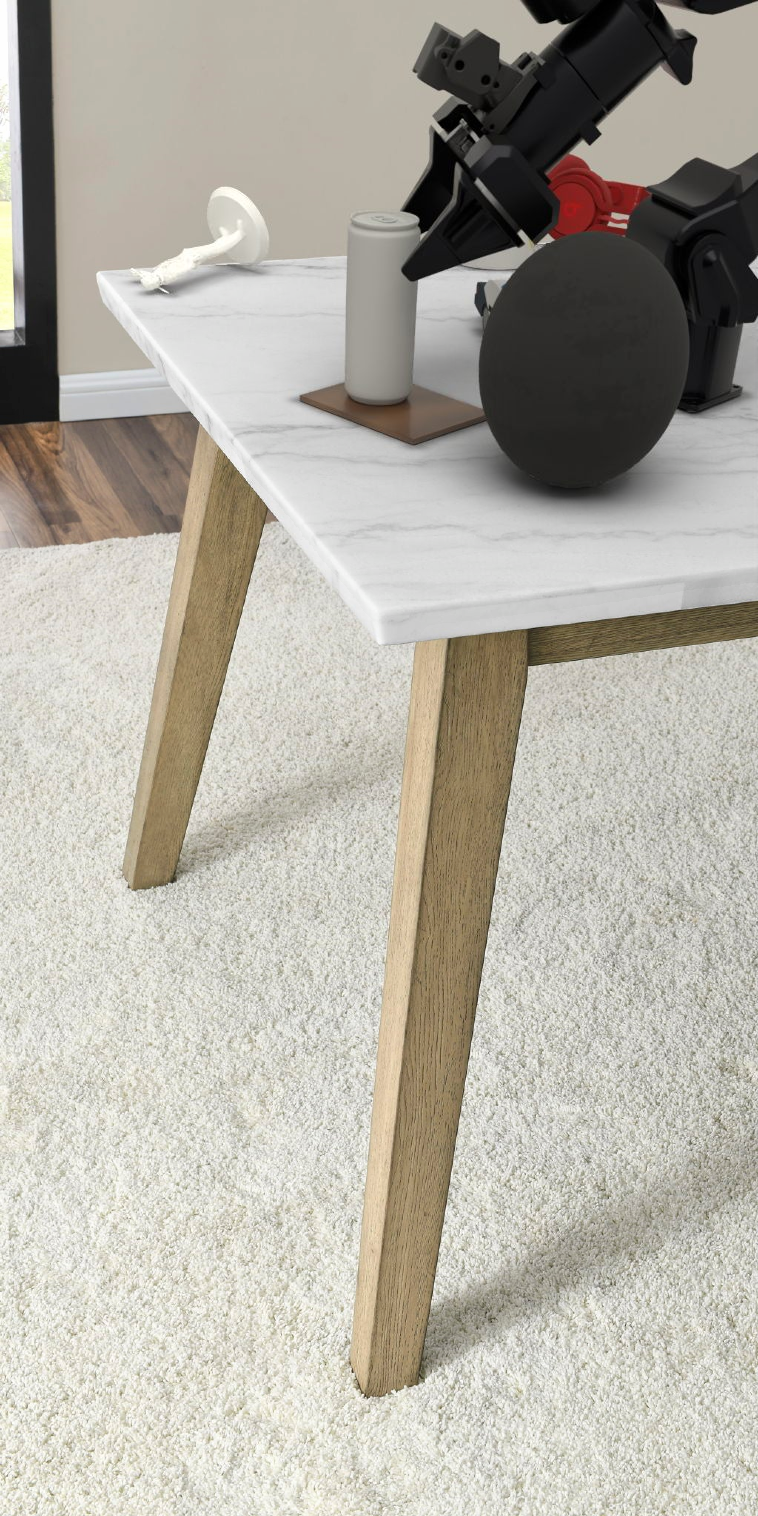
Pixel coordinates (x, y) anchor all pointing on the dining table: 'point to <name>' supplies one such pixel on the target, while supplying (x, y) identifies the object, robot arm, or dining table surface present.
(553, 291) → the decorative egg
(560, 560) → the dining table surface
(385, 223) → the beverage can
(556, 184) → the headphones
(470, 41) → the robot arm
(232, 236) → the figurine
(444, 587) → the dining table surface
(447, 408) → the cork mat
